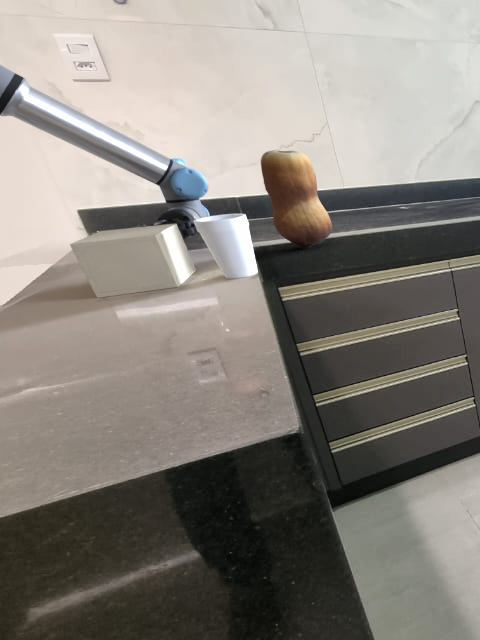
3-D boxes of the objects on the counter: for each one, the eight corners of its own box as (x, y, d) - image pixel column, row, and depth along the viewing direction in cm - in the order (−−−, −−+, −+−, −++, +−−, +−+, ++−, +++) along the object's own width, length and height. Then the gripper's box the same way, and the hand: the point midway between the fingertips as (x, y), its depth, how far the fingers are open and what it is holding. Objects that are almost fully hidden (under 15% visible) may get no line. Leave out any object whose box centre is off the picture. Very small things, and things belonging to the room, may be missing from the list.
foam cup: (209, 282, 117) (185, 223, 111) (226, 271, 125) (204, 216, 119) (258, 277, 119) (236, 219, 114) (271, 267, 127) (251, 212, 122)
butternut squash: (344, 245, 146) (316, 148, 135) (290, 255, 138) (256, 153, 127) (327, 238, 155) (299, 147, 144) (275, 248, 146) (242, 151, 135)
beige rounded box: (124, 280, 122) (100, 231, 117) (196, 270, 127) (176, 223, 122) (96, 298, 110) (69, 244, 105) (178, 287, 115) (155, 235, 110)
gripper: (232, 231, 148) (213, 247, 130) (135, 242, 140) (100, 261, 122) (222, 204, 145) (200, 216, 126) (122, 213, 137) (84, 228, 119)
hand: (151, 238), depth 124 cm, fingers closed on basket, 9 cm apart
